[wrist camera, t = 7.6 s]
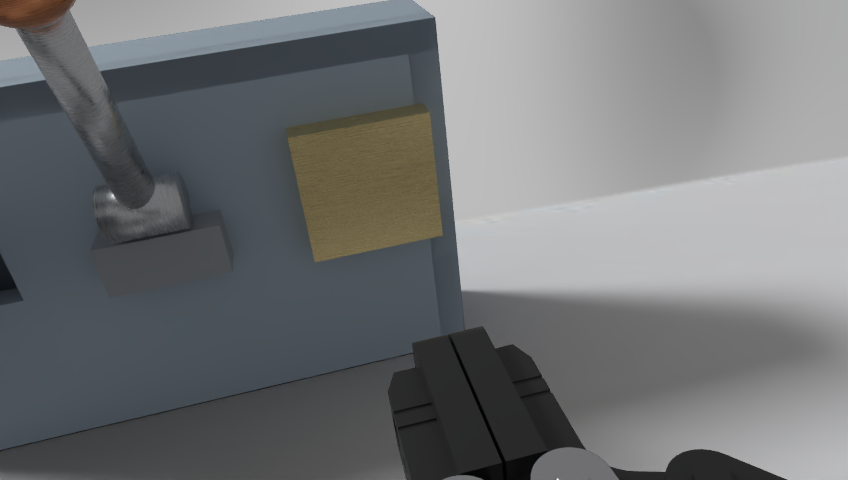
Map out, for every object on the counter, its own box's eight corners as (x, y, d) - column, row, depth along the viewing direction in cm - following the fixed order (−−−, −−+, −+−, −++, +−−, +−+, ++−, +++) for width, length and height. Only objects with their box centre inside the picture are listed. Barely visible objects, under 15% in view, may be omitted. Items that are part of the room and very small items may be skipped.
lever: (111, 266, 20) (-107, -53, 12) (112, 202, 22) (-82, -122, 14) (198, 248, 21) (45, -73, 12) (193, 186, 22) (53, -138, 14)
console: (-67, 488, 24) (-305, 146, 17) (-18, 391, 28) (-193, 90, 22) (474, 358, 27) (444, 24, 20) (441, 288, 31) (408, -3, 25)
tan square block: (314, 262, 23) (287, 138, 21) (305, 212, 27) (281, 100, 24) (442, 235, 24) (429, 112, 22) (418, 190, 27) (404, 79, 25)
